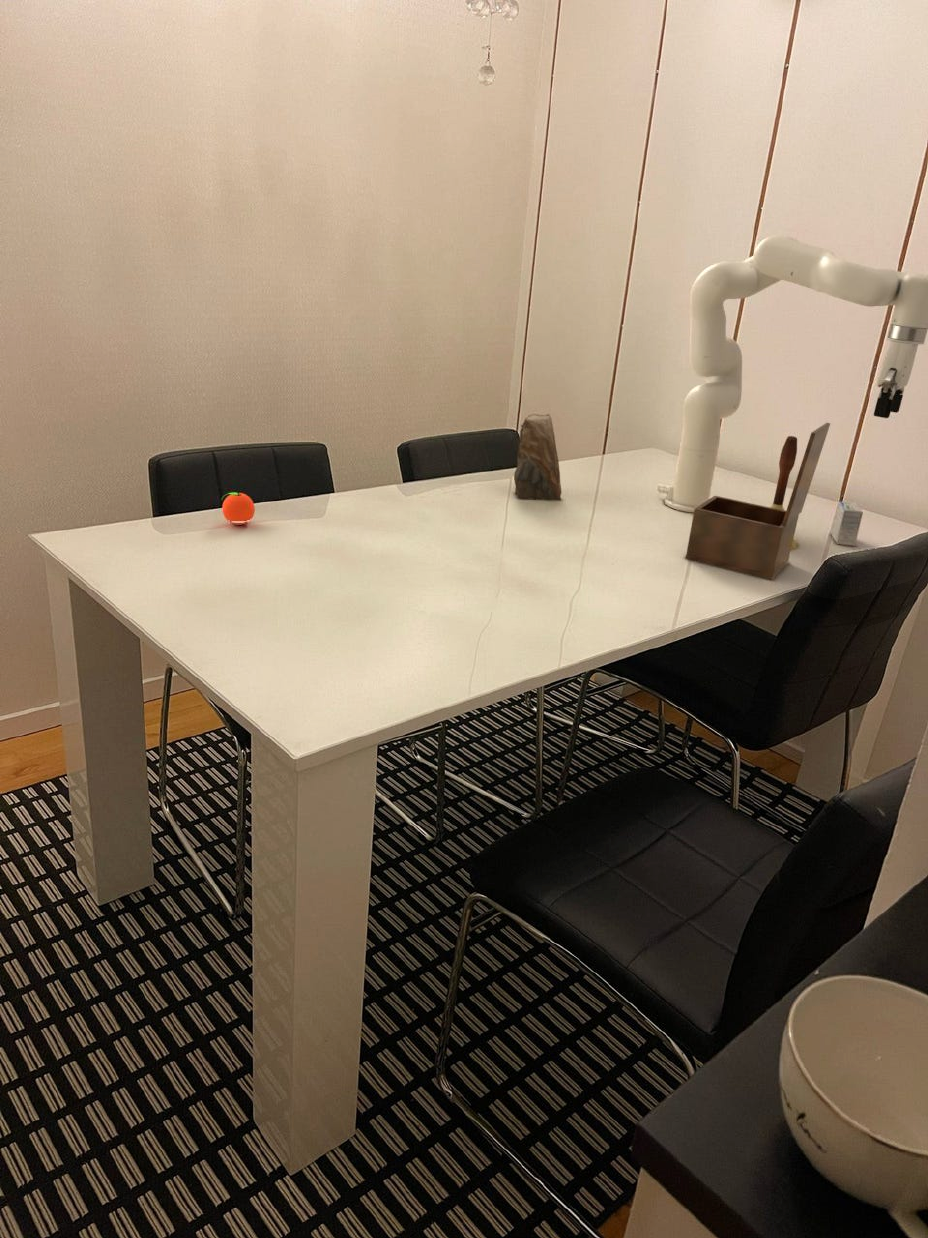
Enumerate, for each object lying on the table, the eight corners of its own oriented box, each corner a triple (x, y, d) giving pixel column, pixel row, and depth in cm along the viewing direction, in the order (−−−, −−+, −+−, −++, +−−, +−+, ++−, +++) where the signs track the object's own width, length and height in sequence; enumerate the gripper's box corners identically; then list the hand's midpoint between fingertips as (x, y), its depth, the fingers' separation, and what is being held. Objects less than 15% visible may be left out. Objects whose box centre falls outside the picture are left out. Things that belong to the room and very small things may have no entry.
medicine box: (855, 546, 223) (864, 511, 220) (835, 544, 224) (844, 509, 220) (849, 536, 230) (857, 502, 227) (830, 534, 231) (838, 500, 228)
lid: (811, 432, 184) (815, 433, 184) (826, 422, 195) (830, 423, 195) (781, 525, 193) (785, 526, 193) (797, 511, 204) (801, 512, 204)
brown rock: (514, 499, 238) (521, 421, 230) (504, 485, 250) (511, 410, 242) (561, 500, 241) (571, 423, 233) (550, 486, 252) (558, 412, 244)
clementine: (212, 524, 204) (210, 492, 201) (230, 516, 210) (229, 485, 207) (243, 531, 201) (242, 499, 198) (261, 522, 207) (260, 491, 204)
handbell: (759, 529, 230) (780, 428, 220) (806, 543, 223) (830, 439, 212) (733, 538, 222) (754, 433, 212) (780, 553, 214) (804, 445, 204)
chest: (685, 558, 206) (694, 508, 202) (705, 543, 217) (714, 495, 213) (771, 580, 198) (782, 528, 193) (787, 562, 209) (799, 513, 204)
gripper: (897, 330, 210) (877, 406, 217) (879, 334, 197) (859, 415, 204) (932, 334, 206) (911, 412, 213) (917, 339, 193) (895, 422, 200)
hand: (885, 414), depth 208 cm, fingers open, 9 cm apart
